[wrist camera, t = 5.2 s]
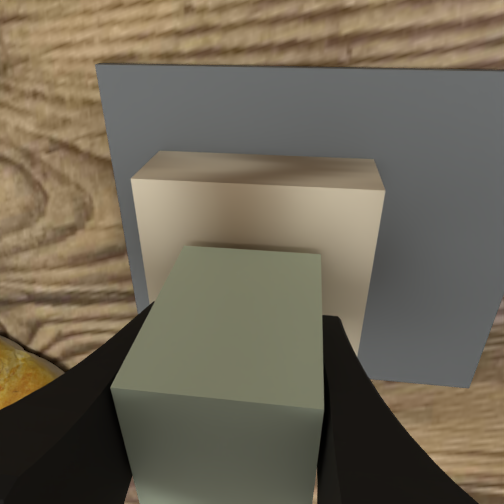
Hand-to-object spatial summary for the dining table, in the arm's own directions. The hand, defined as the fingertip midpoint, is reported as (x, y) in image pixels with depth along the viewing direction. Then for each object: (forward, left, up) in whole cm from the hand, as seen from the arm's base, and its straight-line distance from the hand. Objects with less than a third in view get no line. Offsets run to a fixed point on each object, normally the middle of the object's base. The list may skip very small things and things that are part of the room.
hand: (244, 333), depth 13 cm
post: (0, 0, -2) cm, 2 cm away
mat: (-2, 0, -6) cm, 6 cm away
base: (0, 0, -5) cm, 5 cm away
